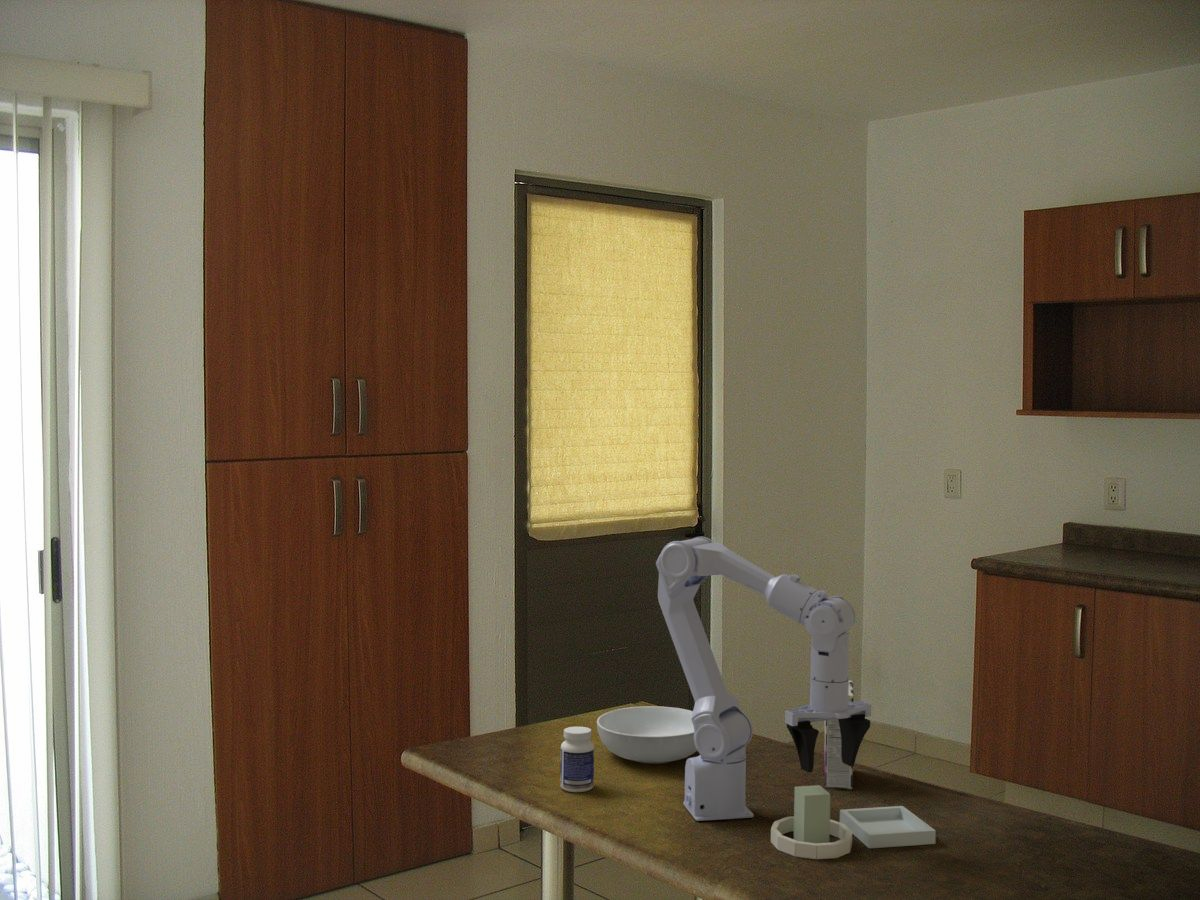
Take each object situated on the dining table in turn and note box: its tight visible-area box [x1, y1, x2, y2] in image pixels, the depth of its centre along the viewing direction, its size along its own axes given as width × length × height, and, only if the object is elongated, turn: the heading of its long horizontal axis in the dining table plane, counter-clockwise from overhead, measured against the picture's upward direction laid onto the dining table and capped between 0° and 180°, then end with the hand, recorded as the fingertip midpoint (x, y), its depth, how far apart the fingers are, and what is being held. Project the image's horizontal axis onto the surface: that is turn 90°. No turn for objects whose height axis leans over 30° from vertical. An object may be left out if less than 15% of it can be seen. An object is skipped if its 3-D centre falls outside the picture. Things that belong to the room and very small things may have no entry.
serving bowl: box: [596, 705, 698, 765], centre depth 207 cm, size 21×21×7 cm
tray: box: [839, 805, 937, 849], centre depth 170 cm, size 11×11×2 cm
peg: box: [793, 784, 831, 843], centre depth 166 cm, size 4×4×8 cm
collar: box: [770, 815, 853, 860], centre depth 166 cm, size 12×12×2 cm
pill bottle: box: [559, 726, 595, 793], centre depth 189 cm, size 6×6×10 cm
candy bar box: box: [823, 679, 855, 790], centre depth 195 cm, size 11×5×16 cm, turn 168°
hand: (827, 767), depth 169 cm, fingers open, 7 cm apart
